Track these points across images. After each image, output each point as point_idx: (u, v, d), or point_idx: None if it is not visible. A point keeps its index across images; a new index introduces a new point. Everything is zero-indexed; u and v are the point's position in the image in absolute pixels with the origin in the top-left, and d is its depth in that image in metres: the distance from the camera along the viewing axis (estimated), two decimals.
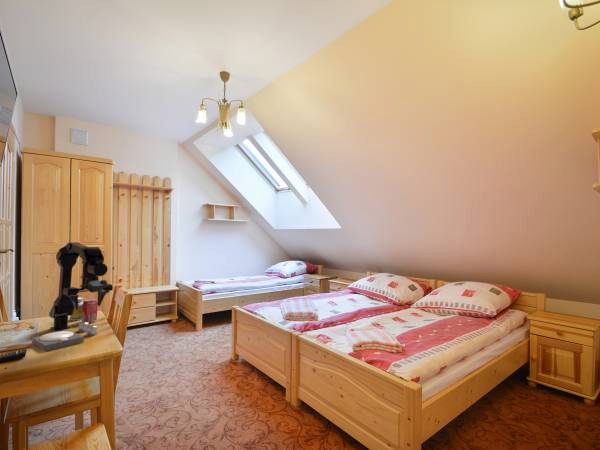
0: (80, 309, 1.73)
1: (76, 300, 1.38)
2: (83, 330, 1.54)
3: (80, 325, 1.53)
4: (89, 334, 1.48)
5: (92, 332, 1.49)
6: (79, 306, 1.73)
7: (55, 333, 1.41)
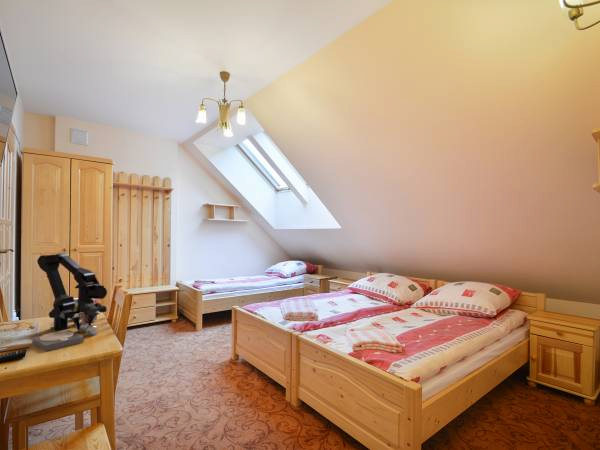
0: None
1: (77, 322, 1.52)
2: (83, 330, 1.54)
3: (80, 325, 1.53)
4: (89, 334, 1.48)
5: (92, 332, 1.49)
6: None
7: (55, 333, 1.41)
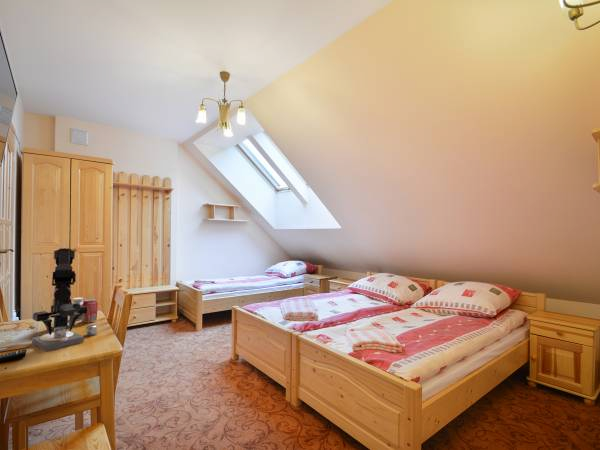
0: None
1: (49, 325, 1.33)
2: (60, 336, 1.36)
3: (56, 330, 1.35)
4: (88, 334, 1.48)
5: (91, 332, 1.48)
6: None
7: None
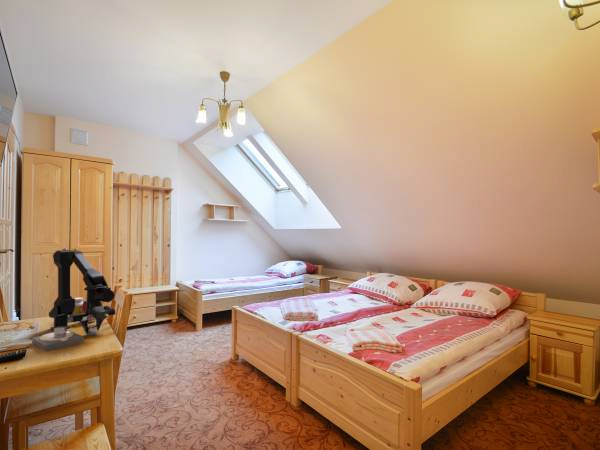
0: (80, 309, 1.73)
1: (86, 325, 1.47)
2: (60, 336, 1.36)
3: (56, 330, 1.35)
4: (86, 334, 1.48)
5: (89, 332, 1.48)
6: (79, 306, 1.73)
7: None
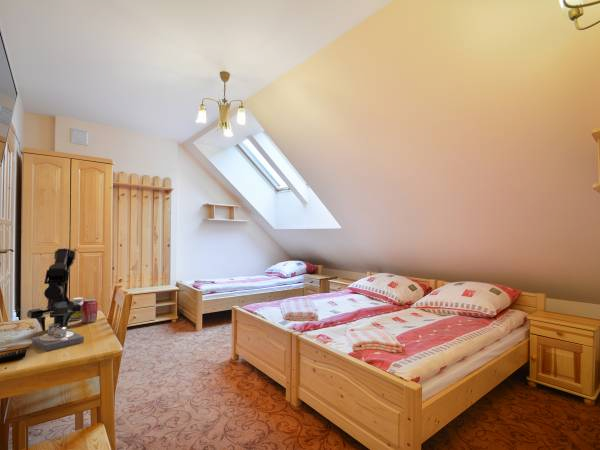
0: None
1: (43, 322, 1.36)
2: (60, 336, 1.35)
3: (56, 330, 1.35)
4: (48, 333, 1.39)
5: (51, 332, 1.39)
6: None
7: None
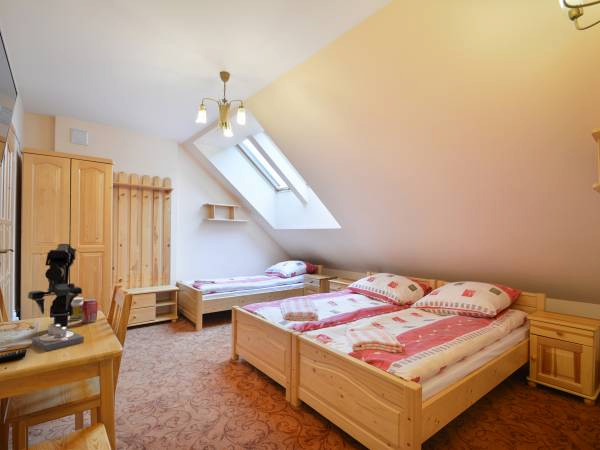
0: (80, 309, 1.73)
1: (42, 304, 1.36)
2: (60, 336, 1.35)
3: (56, 330, 1.35)
4: (48, 333, 1.39)
5: (51, 332, 1.39)
6: (79, 306, 1.73)
7: None
